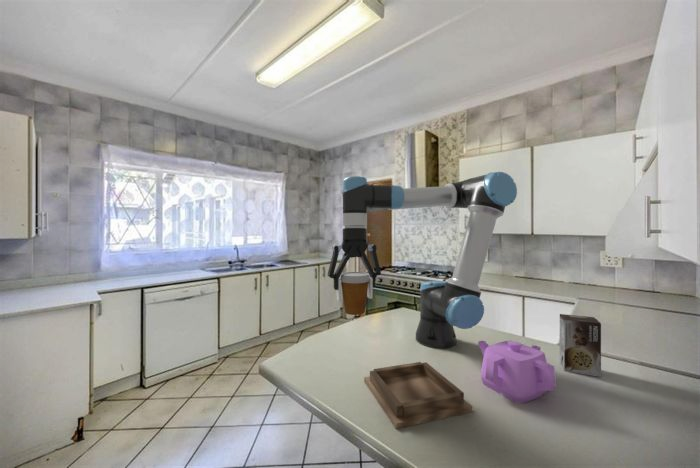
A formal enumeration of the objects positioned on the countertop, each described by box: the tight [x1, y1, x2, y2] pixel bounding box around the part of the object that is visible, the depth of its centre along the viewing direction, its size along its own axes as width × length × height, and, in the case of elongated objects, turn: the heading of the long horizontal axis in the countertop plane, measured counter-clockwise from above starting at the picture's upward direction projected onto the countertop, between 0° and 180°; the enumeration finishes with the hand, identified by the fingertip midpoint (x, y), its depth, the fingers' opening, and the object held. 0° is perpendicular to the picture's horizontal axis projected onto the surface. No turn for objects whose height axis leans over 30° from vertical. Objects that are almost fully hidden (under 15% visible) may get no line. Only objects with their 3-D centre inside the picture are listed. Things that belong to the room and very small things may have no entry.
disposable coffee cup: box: [339, 271, 370, 316], centre depth 89 cm, size 10×10×12 cm
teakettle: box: [477, 340, 557, 404], centre depth 78 cm, size 17×17×12 cm
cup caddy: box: [363, 361, 473, 430], centre depth 74 cm, size 20×20×4 cm
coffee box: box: [558, 313, 602, 378], centre depth 88 cm, size 9×6×16 cm
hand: (354, 298), depth 89 cm, fingers closed on disposable coffee cup, 9 cm apart
